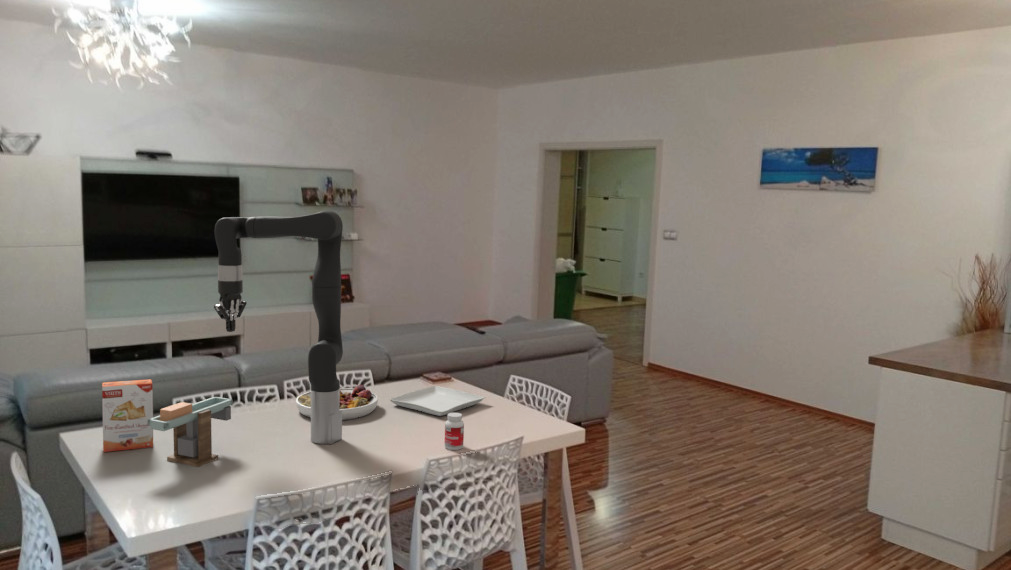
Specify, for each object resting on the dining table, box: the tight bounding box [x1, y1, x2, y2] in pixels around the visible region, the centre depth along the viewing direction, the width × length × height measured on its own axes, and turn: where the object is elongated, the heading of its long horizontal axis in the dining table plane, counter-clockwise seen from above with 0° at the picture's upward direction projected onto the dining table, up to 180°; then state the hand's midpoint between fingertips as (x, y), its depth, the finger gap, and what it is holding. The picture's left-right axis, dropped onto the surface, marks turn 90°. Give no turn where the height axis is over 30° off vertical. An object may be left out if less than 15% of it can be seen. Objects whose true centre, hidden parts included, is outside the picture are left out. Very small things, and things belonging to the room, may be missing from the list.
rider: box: [159, 401, 193, 422], centre depth 214 cm, size 4×8×4 cm, turn 158°
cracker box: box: [101, 378, 154, 453], centre depth 229 cm, size 14×6×21 cm, turn 118°
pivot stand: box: [166, 410, 219, 468], centre depth 221 cm, size 12×8×16 cm, turn 68°
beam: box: [148, 396, 234, 457], centre depth 221 cm, size 7×26×14 cm, turn 158°
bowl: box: [295, 384, 379, 421], centre depth 277 cm, size 30×30×8 cm
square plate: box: [389, 385, 486, 417], centre depth 288 cm, size 27×27×4 cm
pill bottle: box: [444, 412, 465, 451], centre depth 240 cm, size 6×6×11 cm
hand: (230, 331), depth 241 cm, fingers closed
